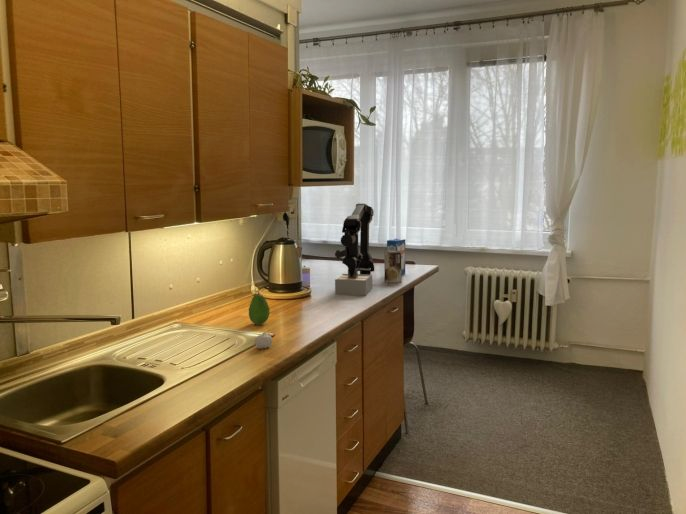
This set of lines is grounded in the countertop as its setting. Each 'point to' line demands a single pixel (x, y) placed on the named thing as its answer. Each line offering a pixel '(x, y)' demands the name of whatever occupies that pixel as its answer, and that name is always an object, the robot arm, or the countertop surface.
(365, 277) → the cover plate
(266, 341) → the garlic
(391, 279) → the coffee box
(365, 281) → the box
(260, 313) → the avocado
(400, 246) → the milk carton
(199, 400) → the countertop surface
